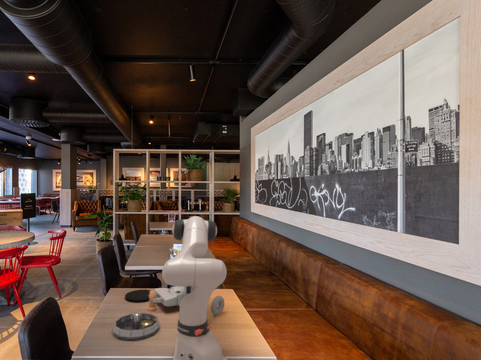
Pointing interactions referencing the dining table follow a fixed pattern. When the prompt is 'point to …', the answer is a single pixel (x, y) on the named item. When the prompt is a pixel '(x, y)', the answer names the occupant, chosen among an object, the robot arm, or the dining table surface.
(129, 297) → the wireless charger
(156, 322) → the bowl
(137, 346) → the dining table surface
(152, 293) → the peg on round base
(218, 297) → the donut
